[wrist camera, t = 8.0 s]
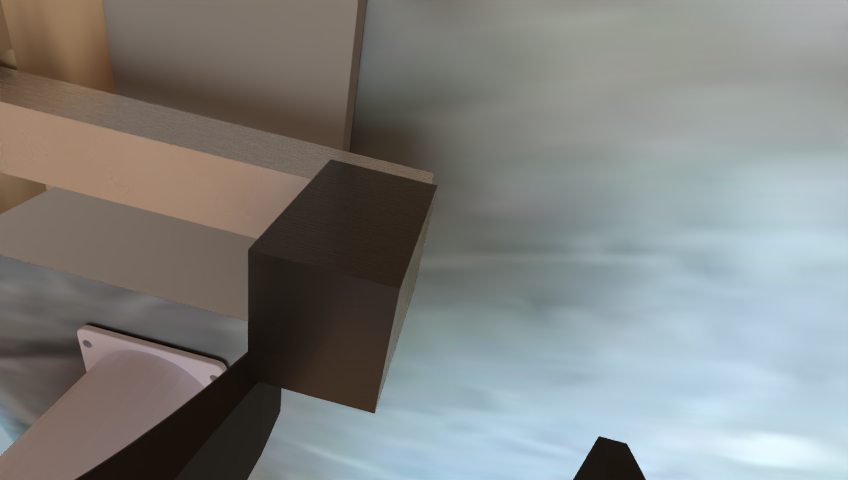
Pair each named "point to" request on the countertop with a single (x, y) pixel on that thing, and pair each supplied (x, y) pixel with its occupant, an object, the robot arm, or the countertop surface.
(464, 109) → the countertop surface
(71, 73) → the bearing block
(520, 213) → the countertop surface
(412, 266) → the shaft
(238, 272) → the mounting plate
